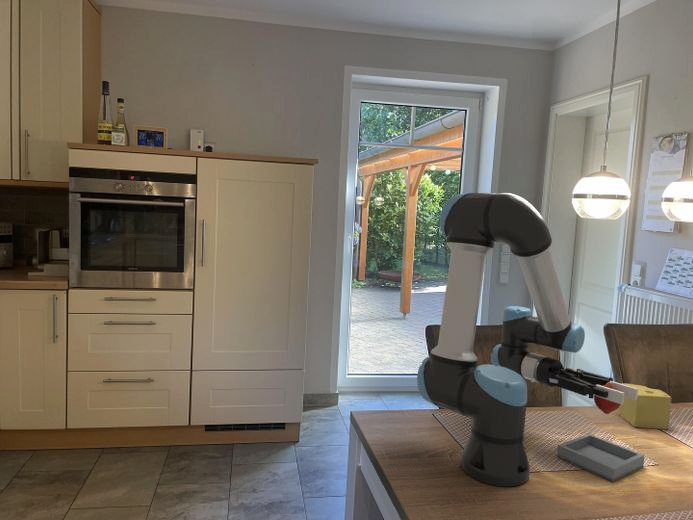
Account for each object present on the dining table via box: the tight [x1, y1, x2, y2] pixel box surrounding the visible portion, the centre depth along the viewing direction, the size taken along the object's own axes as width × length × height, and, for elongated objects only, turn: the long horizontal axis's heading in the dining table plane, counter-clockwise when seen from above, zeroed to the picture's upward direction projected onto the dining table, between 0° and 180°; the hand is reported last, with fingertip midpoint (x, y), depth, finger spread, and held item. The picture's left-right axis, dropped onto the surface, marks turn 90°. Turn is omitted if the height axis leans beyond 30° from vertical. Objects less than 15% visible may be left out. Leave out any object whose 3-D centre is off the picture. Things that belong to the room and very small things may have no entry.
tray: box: [556, 433, 645, 483], centre depth 124 cm, size 14×14×3 cm
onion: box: [593, 382, 620, 415], centre depth 124 cm, size 6×6×8 cm
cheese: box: [618, 382, 672, 430], centre depth 151 cm, size 10×11×10 cm
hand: (629, 396), depth 119 cm, fingers closed on onion, 6 cm apart
